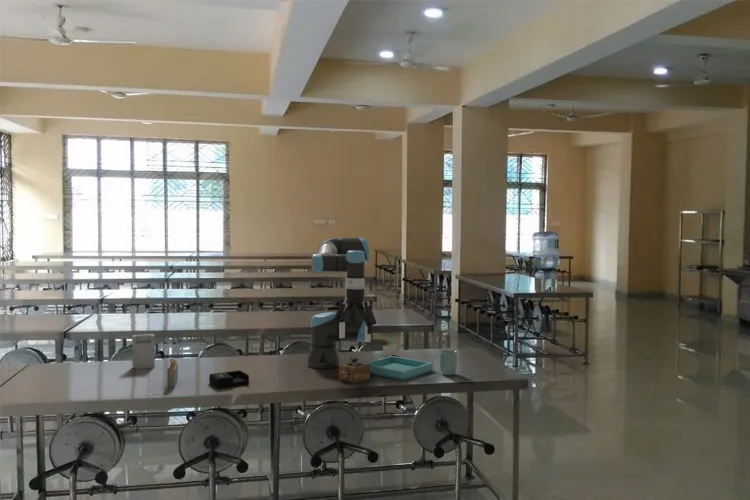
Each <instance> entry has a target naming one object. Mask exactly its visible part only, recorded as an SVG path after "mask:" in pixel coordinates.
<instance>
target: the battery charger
mask: <svg viewBox="0 0 750 500" xmlns="http://www.w3.org/2000/svg"><path fill="white" fill-rule="evenodd" d="M208 378H209V379H208V382H209V384H210V385H211V386H212V387H214V388H215V389H216V390H222V389H229V388H230V389H231V388H234V387H235V388H236V387H243V386H248V385H249V384H250V377H249V374H247V373H246V372H244V371H242V370H240V369H239V370H231V371H223V372H214V373H210V374H209V377H208Z"/></svg>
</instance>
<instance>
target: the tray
mask: <svg viewBox="0 0 750 500" xmlns="http://www.w3.org/2000/svg"><path fill="white" fill-rule="evenodd" d="M364 363H365V364H370V375H372V376H377V377H383V378H387V379H394V380H397V381H401V382H403V381H407V380H410V379H413V378H416V377H419V376H422V375H424V374H427V373H430V372H433V370H434V369H433V368H434V367H433V365H434V363H433V362H430V361H424V360H419V359H418V360H417V359H412V358H406V357H400V356H385V357H382V358H379V359H375V360H370V361H368V362H364Z"/></svg>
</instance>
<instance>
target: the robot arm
mask: <svg viewBox="0 0 750 500" xmlns="http://www.w3.org/2000/svg"><path fill="white" fill-rule="evenodd" d="M368 243H369V242H368V240H367V239H366V238H365V237H338V236H337V237H331V238H328V239H324V240H323V241H321V242H320V243H319V244H318V246H317V248H316V253H313V254H312V256H311V270H312V272H314V273H315V272H318V273H321V272H324V273H333V272H334V273H345V275H344V277H345V278H344V280H345V283H344V285H345V286H344V293H345V294H344V295H345V296H344V298H341V299H340V302H339V306H338V308H337V312H335V311H334V312H331V311H329V312H321V313H317V314H314V315H312V317H311V318H310V350H309V352H308V356H307V358H306V366H307V367H308V368H309V367H310V368H314V369H332V368H337V367H338V368H339V365H341V358H340V357H339V355H340V354H339V352H338V349H337V343H351V342H352V343H360V342H365V343H369V342H372V341H371V340H372V338H371V336H372V335H371V334H372V333H373V326H374V325H377V321H376V317H375V315H374V312H373V310H372V309H373V308H372V307H371V301H370V300H366V301H365V282H366V281H365V276H366V275H365V271H366V269H365V266H367V263H368V262H369V261H370V251H369V250H370V249H369V248H370V247H369V244H368Z"/></svg>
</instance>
